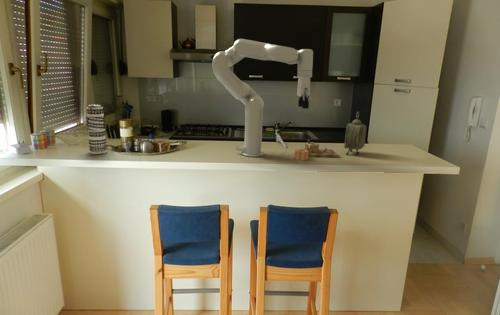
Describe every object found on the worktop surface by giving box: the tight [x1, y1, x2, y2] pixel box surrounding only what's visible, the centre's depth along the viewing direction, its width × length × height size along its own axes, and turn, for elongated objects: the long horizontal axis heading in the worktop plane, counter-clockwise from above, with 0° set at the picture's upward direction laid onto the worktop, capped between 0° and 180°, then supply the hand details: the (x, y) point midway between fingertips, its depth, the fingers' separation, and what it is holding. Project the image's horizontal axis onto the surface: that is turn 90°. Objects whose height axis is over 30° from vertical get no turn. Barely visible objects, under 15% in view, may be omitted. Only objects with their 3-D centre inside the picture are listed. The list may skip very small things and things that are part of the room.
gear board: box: [304, 139, 340, 159], centre depth 188 cm, size 20×14×8 cm
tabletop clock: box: [343, 111, 368, 156], centre depth 190 cm, size 14×9×25 cm, turn 152°
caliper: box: [276, 132, 288, 149], centre depth 211 cm, size 20×1×6 cm, turn 11°
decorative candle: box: [85, 104, 108, 155], centre depth 173 cm, size 9×9×25 cm
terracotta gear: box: [293, 148, 309, 161], centre depth 177 cm, size 7×7×4 cm
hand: (303, 107), depth 175 cm, fingers open, 9 cm apart
